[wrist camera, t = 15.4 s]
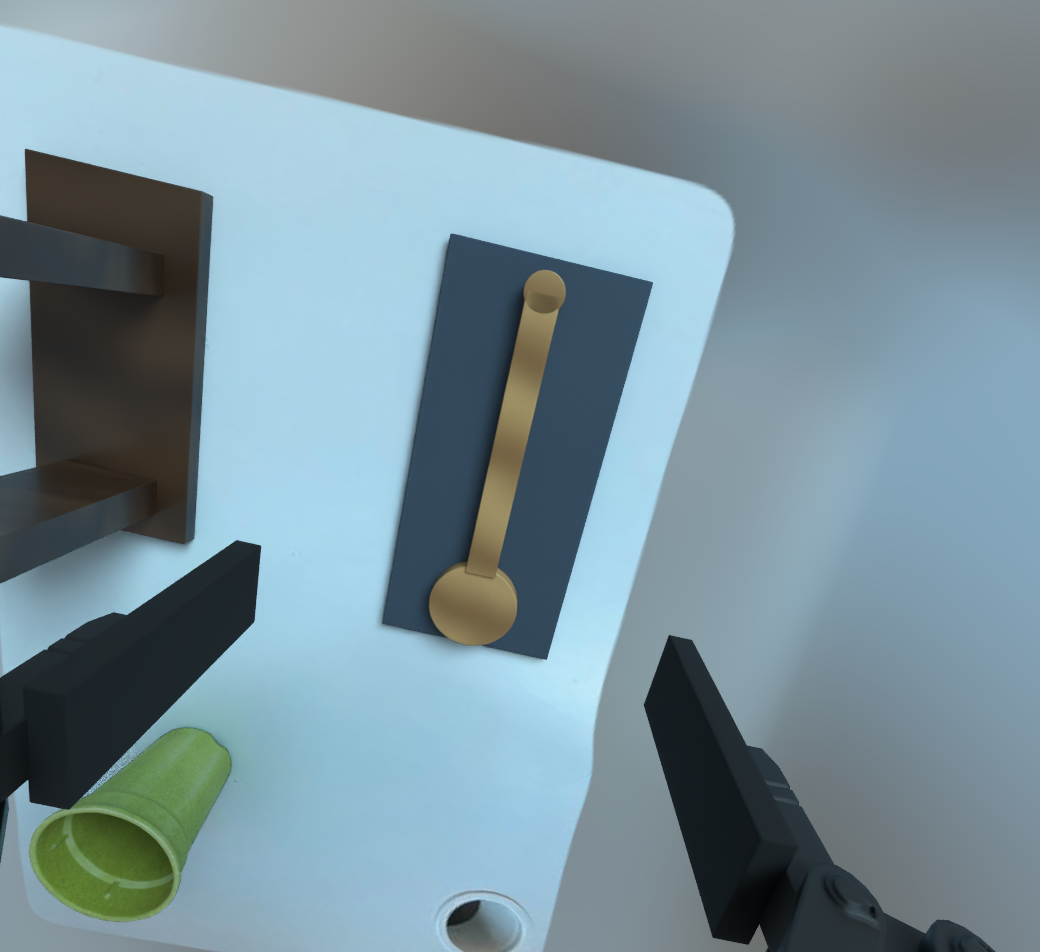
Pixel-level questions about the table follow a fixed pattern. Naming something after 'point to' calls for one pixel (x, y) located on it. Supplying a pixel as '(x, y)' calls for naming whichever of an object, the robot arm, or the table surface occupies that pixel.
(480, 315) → the mat
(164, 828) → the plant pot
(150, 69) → the table surface
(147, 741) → the table surface
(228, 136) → the table surface
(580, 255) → the table surface
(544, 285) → the ladle
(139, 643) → the robot arm
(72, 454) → the rack
